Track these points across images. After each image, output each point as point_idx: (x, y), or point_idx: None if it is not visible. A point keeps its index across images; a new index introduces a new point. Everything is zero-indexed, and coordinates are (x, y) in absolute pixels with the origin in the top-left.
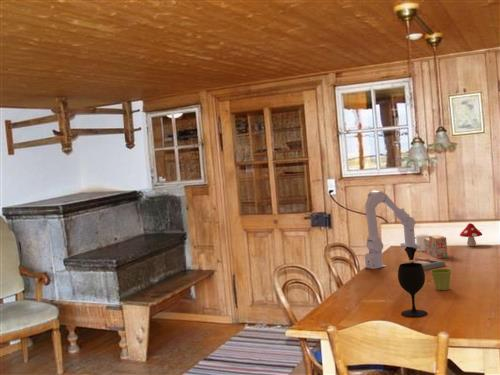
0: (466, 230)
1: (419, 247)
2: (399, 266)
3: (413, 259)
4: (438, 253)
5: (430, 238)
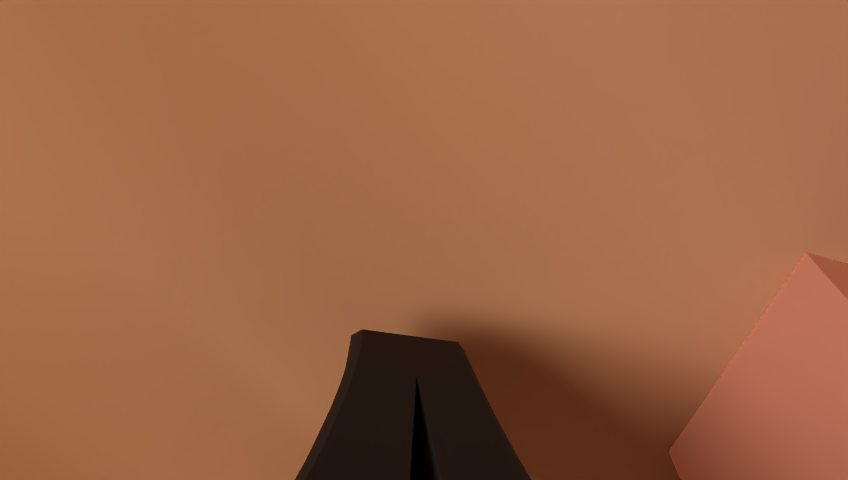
0: None
1: None
2: None
3: (464, 354)
4: None
5: None
